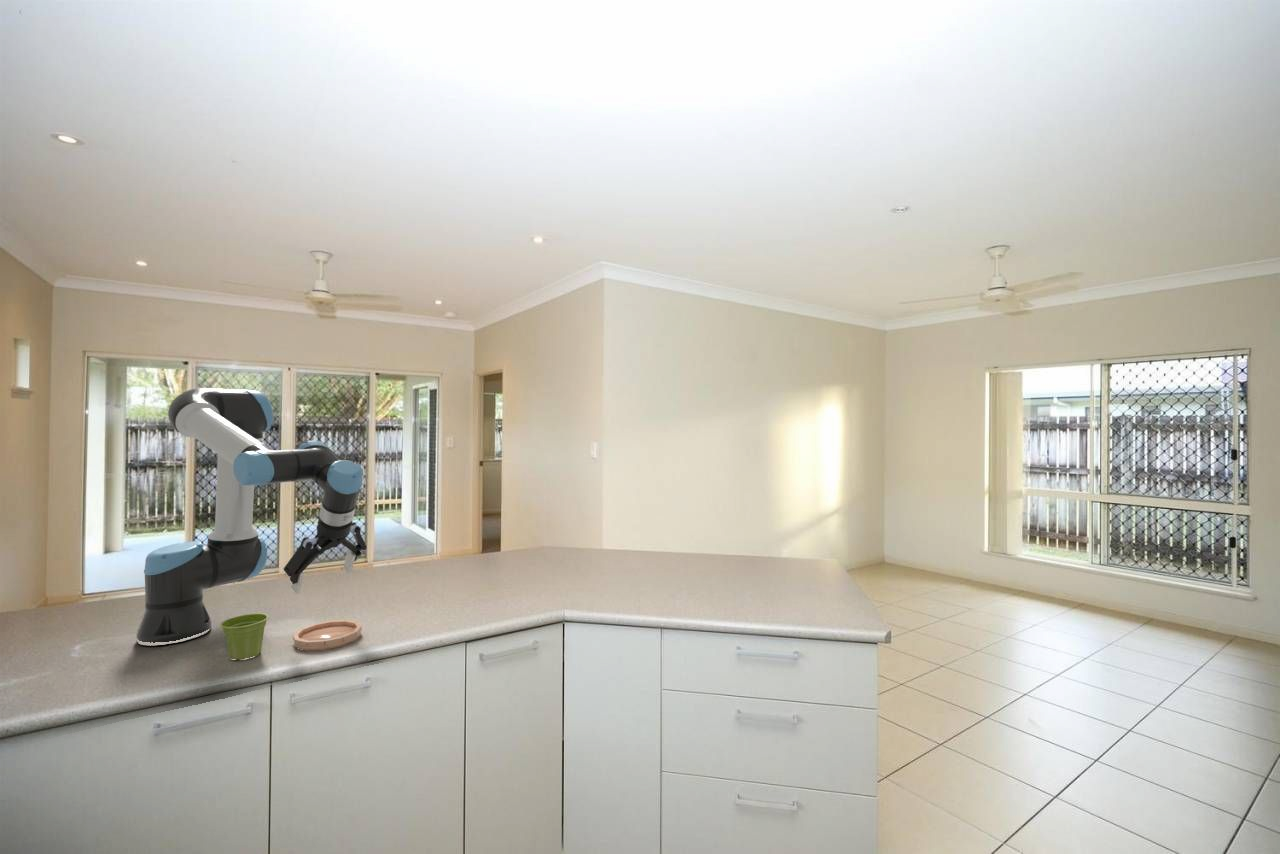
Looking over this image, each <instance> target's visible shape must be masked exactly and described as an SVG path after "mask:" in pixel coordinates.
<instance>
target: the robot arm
mask: <svg viewBox="0 0 1280 854" xmlns="http://www.w3.org/2000/svg"><path fill="white" fill-rule="evenodd" d="M167 411H168V412H167V416H168V417H167V418H168V420H169V423H170V425H171V426H172V427H173V428H174V429H175V430H176V431H177V432H178V433H180V434H181V435H182V436H184V437H186V438H189V439H196V440H198V441H199V442H201V444H203V445H204V446H206V447H208V449H210V450H211V451H213V452H214V453H215V454H217V469H216V471H217V472H216V489H215V490H216V491H215V492H216V494H215V519H214V520H215V521H214V529H213V530H212V531H211V533H209V534H208V535H207V543H206V544H204V545H203V543H202V542H201V541H199V540H198V541H195V540H194V541H193V540H191V541H184V542H177V543H172V544H168V545H164V546H162V547H159V548H156V549H154V550H152V551H150V552H149V553H148V554H146V555H147V556H146V558H145V560H144V561H145V562H144V563H145V565H144V570H143V573H144V595H145V596H144V599H145V600H144V603H145V605H144V607H145V610H144V613H143V616H142V619H141V620H140V623H139V626H138V629H137V632H136V638H137V639H138V640H139V641H142V642H150V643H151V642H153V643H155V642H169V641H176V640H180V639H183V638H187V637H191V636H193V635H196V634H199V633H202V632H204V631H206V630H208V629H210V628H211V629H212V619H211V617H210V615H209V613H208V611H207V607H206V606H205V603H204V590H206V589H210V588H211V589H212V588H215V587H220V586H223V585H228V584H233V583H240V582H243V581H246V580H250V579H253V578H255V577H257V576H258V575H260V573H261V572H262V571H263V570H264V567H266V566H265V565H266V563H267V560H268V547H266V546H267V542H266V541H265V539H263V538H262V537H260V536H259V532H258V531H257V530H256V529H254V528H253V519H254V517H253V516H254V495H255V494H254V493H255V486H258V487H259V486H264V485H272V484H281V483H290V482H302V481H313V482H314V483H315V484H316V485H317V486H318V487H319V488H320V489H321V490H322V491H323V497H322V501H321V504H320V505H321V506H320V509H319V510H320V511H319V517H318V520H317V524H316V534H315V536H314V537H311V538H308V537H304V538H302V540H301V542H300V545H299V546H298V548H297V550H296V551H295V552H294V554H293V555H292V557H291V558H290V559H289V560H288V562H287V563H286V565H285V566H284V567H283V571H284V572H285V574H286V575H287V576H288V577H290V578H289V580H290V581H291V586H290V588H291V589H292V590H293V591H294V593H295V594H296V595H298V594H301V588H302V584H303V579H304V573H303V571H305V569H307V568H308V566H310V565H311V564H312V563H313V562H314V561H315V560H316V559H317V558H318V556H321V555H323V554H324V553H325V552H326V551H328V550H331V549H332V548H337V547H339V546H340V545H342V546H343V547H345V548H347V550H346V553H345V554H346V556H345V559H344V563H343V569H344V571H345V572H346V573H347V574H348V575H351V574H352V572H353V569H354V568H353V567H354V564H355V562H357V559H358V557H360V556H361V555H362V554H363V553H362V551H366V550H367V548H368V547H367V545H366V543H365V540H364V538H363V536H362V534H361V533H362V529H361V526H359V525H358V524H357V522H355V521H354V522H353V519H354V517H355V512H356V508H357V504H358V501H359V496H360V491H361V488H362V486H363V478H364V469H363V467H362V466H361V465H360V464H359V463H356V462H355V463H354V460H353V461H352V460H348V459H342V460H341V459H340V458H339V457H338V456H337V455H336V454H335V453H334V452H333V450H332V449H331V448H329V447H328V446H327V445H325V444H324V443H323V442H321V441H319V440H308V442H306V443H305V442H304V443H302V444H301V445H299V446H298V448H297V449H282V450H280V449H279V450H274V449H273V448H271V447H270V446H268V445H266V444H265V443H263V442H261V441H262V439H263V433H264V432H267V431H269V430H271V428H272V425H273V423H274V410H273V406H272V404H271V401H270V400H269V399H268V397H267V396H266V394H264V393H263V392H261V391H258V390H251V389H245V388H244V389H243V388H242V389H239V388H237V389H236V388H235V389H234V388H210V387H209V388H207V387H197V388H191V389H188V390H186V391H183V392H182V393H180V394H179V395H177V396H176V397H175V398H174V399H173V400H172V401H171V403H170V404H169V406H168V410H167ZM350 533H351V534H352V537H353V538H354V540H355V541H356V542H355V543H356V545H355V544H354V543H352V542H351V541H349V539H348V538H347V537H348V536H349V535H350Z"/></svg>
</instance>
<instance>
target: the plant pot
mask: <svg viewBox="0 0 1280 854" xmlns="http://www.w3.org/2000/svg"><path fill="white" fill-rule="evenodd" d="M268 619H269V615H268V614H266V613H258V612H257V613H250V614H249V613H248V614H242V615H236V616H233V617H229V618H227V619H226V620H223V621H222V622H221V623H220V626H219V627H220V628H222V630H223V633H224V636H225V640H226V644H227V645H226V646H227V650H228V657H229V659H230V658H231V659H245V658H250V657H253V656H256V655H257V656H258V655H260V654H261V653H262V649H263V648H262V646H263V640H264V631H265V627H266V625H267V620H268ZM260 652H261V653H260ZM259 653H260V654H259ZM257 656H256V657H257Z"/></svg>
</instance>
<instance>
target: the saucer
mask: <svg viewBox="0 0 1280 854" xmlns="http://www.w3.org/2000/svg"><path fill="white" fill-rule="evenodd" d="M362 629H363V627H362V625H361V624H360V623H359V622H358V621H354V620H348V619H345V620H343V619H342V620H341V619H340V620H339V619H338V620H328V621H323V622H318V623H314V624H310V625H308V626H305V627H302V628H300V629H299V630H297V631H296V632H295V633H294V634H293V635H292V640H293V647H294V646H295V647H297V648H299V649H303V650H302V651H304V650H311V651H310V652H317V650H319V651H326V650H332V649H336V648H341V647H344V646H346V645H349V644H351V642H352V643H353V642H355V641H357V640H359V638H360V637H361V633H362ZM356 639H357V640H356ZM295 647H294V648H295ZM297 648H296V649H297ZM299 649H298V650H299ZM315 650H316V651H315Z"/></svg>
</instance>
